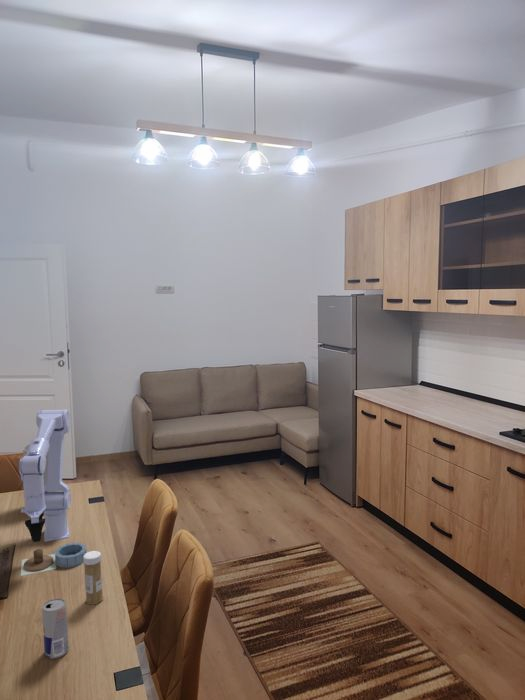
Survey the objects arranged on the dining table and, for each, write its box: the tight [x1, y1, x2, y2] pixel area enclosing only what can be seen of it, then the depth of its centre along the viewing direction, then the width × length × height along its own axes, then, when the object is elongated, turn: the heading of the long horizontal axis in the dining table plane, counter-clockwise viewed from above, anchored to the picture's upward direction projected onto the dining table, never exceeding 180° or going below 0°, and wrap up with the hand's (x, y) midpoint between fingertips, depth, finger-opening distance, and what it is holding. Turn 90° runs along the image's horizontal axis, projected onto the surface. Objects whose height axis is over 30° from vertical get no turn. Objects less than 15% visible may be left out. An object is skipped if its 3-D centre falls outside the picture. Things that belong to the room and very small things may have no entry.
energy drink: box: [41, 598, 70, 660], centre depth 124 cm, size 5×5×12 cm
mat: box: [20, 553, 57, 577], centre depth 164 cm, size 10×10×1 cm
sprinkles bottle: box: [83, 550, 104, 605], centre depth 144 cm, size 5×5×14 cm
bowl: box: [54, 542, 88, 569], centre depth 166 cm, size 9×9×4 cm
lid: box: [24, 548, 53, 572], centre depth 163 cm, size 8×8×4 cm
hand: (36, 535), depth 162 cm, fingers open, 7 cm apart
